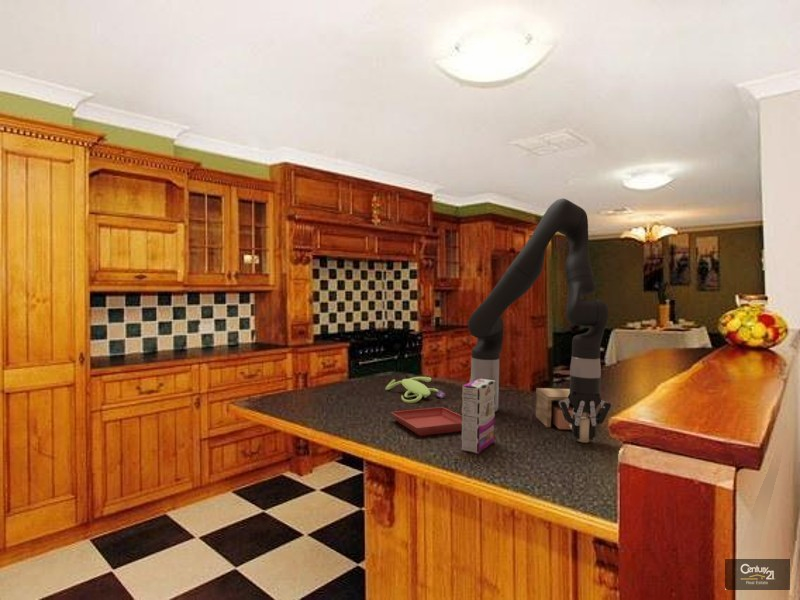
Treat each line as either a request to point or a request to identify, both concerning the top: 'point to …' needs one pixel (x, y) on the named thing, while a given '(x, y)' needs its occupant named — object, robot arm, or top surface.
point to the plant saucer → (429, 420)
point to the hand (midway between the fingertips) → (583, 438)
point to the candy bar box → (478, 415)
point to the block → (563, 424)
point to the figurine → (415, 388)
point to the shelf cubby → (549, 403)
